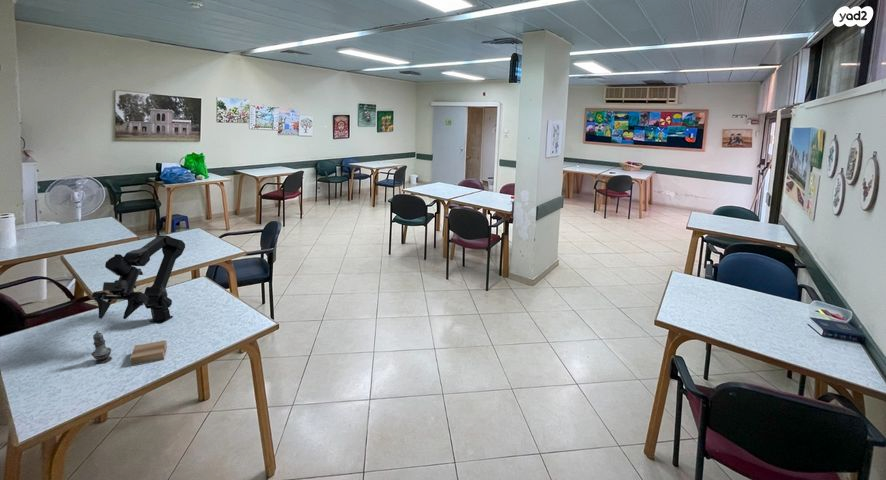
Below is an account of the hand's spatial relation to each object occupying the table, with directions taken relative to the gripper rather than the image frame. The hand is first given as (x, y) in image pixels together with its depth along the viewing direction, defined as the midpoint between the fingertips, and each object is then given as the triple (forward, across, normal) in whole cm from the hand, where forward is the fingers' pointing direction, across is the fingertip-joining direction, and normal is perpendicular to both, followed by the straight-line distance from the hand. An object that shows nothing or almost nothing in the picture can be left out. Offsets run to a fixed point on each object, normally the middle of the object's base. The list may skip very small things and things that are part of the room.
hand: (112, 318), depth 167 cm
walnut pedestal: (+12, +15, +6) cm, 20 cm away
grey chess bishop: (+15, 0, +4) cm, 15 cm away
